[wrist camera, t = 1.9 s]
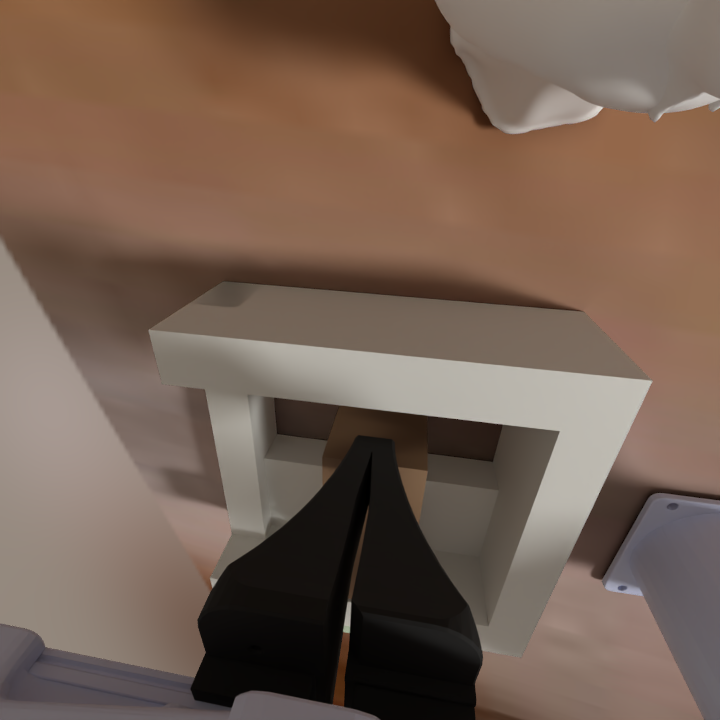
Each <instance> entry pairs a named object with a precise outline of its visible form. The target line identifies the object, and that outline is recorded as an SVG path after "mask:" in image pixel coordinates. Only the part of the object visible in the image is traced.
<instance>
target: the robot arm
mask: <svg viewBox="0 0 720 720" xmlns="http://www.w3.org/2000/svg"><path fill="white" fill-rule="evenodd" d="M368 505H369V508H368ZM367 509H368V517H367V522H366V528H365V533H364V539H363V544H362V550H361V555H360V560H359V565H358V570H357V575H356V580H355V585H354V590H353V595H352V599H351V619H350V641H349V652H348V659H347V666H346V672H345V700H344V707H341V706H336V705H332V704H333V697H334V690H335V683H336V676H337V669H338V662H339V656H340V649H341V642H342V635H343V629H344V622H345V616H346V609H347V602H348V596H349V590H350V583H351V577H352V572H353V567H354V562H355V558H356V554H357V550H358V546H359V542H360V538H361V534H362V530H363V526H364V522H365V518H366V514H367ZM602 583H603V585H604V588H605V589H607V590H609V591H614V592H620V593H626V594H633V595H639V596H644V598H645V600H646V602H647V604H648V606H649V608H650V610H651V612H652V614H653V616H654V618H655V620H656V622H657V625H658V627H659V629H660V631H661V633H662V635H663V637H664V639H665V641H666V643H667V645H668V647H669V649H670V651H671V653H672V655H673V657H674V659H675V661H676V663H677V665H678V667H679V669H680V671H681V673H682V675H683V677H684V679H685V681H686V684H687V686H688V688H689V690H690V692H691V694H692V696H693V698H694V700H695V702H696V704H697V706H698V708H699V710H700V712H701V714H702V716H703V718H704V720H720V501H719V500H712V499H704V498H696V497H689V496H681V495H673V494H666V493H656V494H653V495H651V496H650V497H649V498H648V500H647V501H646V503H645V505H644V507H643V509H642V510H641V512H640V514H639V516H638V517H637V519H636V521H635V523H634V524H633V526H632V528H631V530H630V532H629V533H628V535H627V537H626V539H625V540H624V542H623V544H622V546H621V547H620V549H619V551H618V553H617V554H616V556H615V558H614V560H613V562H612V563H611V565H610V567H609V569H608V570H607V572H606V574H605V576H604V577H603V579H602ZM198 628H199V631H200V635H201V638H202V641H203V645H204V648H205V651H206V654H205V656H204V658H203V660H202V663H201V665H200V667H199V670H198V672H197V674H196V676H195V678H193V677H188V676H184V675H178V674H174V673H169V672H164V671H159V670H154V669H150V668H145V667H140V666H135V665H129V664H125V663H120V662H115V661H110V660H106V659H100V658H96V657H90V656H86V655H80V654H76V653H71V652H66V651H61V650H57V649H51V648H47V647H45V644H44V642H43V640H42V638H41V637H40V636H39V635H38V634H37V633H35V632H33V631H31V630H28V629H25V628H20V627H15V626H10V625H5V624H0V720H475V709H474V707H475V706H476V692H475V681H476V679H477V676H478V674H479V671H480V668H481V666H482V660H483V654H482V647H481V643H480V638H479V634H478V631H477V627H476V624H475V621H474V618H473V615H472V612H471V610H470V607H469V605H468V603H467V602H466V601H465V599H464V598H463V597H462V595H461V594H460V593H459V591H458V590H457V588H456V587H455V586H454V584H453V583H452V581H451V580H450V578H449V577H448V575H447V574H446V572H445V571H444V569H443V568H442V566H441V565H440V563H439V561H438V559H437V558H436V556H435V554H434V553H433V551H432V549H431V547H430V546H429V544H428V542H427V540H426V538H425V536H424V534H423V532H422V530H421V529H420V526H419V524H418V522H417V520H416V518H415V515H414V513H413V511H412V508H411V506H410V503H409V501H408V498H407V495H406V492H405V489H404V486H403V483H402V480H401V476H400V473H399V469H398V464H397V460H396V454H395V442H394V441H393V440H392V439H386V438H378V437H370V436H362V435H358V436H357V437H355V439H354V442H353V444H352V445H351V447H350V449H349V451H348V452H347V454H346V455H345V457H344V458H343V460H342V461H341V463H340V464H339V466H338V467H337V468H336V470H335V471H334V473H333V474H332V475H331V477H330V478H329V479H328V480H327V481H326V483H325V484H324V485H323V486H322V488H321V489H320V490H319V491H318V492H317V493H316V494H315V496H314V497H313V498H312V499H311V500H310V501H309V502H308V503H307V504H306V505H305V506H304V507H303V508H302V509H301V510H300V511H299V512H298V513H297V514H296V515H295V516H294V517H292V518H291V519H290V520H289V521H288V522H287V523H286V524H285V525H283V526H282V527H281V528H280V529H279V530H277V531H276V532H275V533H273V534H272V535H271V536H270V537H268V538H267V539H266V540H264V541H263V542H262V543H260V544H259V545H258V546H256V547H255V548H253V549H252V550H250V551H249V552H247V553H246V554H244V555H243V556H241V557H240V558H238V559H237V560H235V561H234V562H232V563H230V564H229V565H228V566H227V567H226V569H225V570H224V571H223V573H222V574H221V576H220V577H219V579H218V581H217V582H216V584H215V585H214V587H213V589H212V590H211V592H210V594H209V596H208V598H207V601H206V603H205V605H204V607H203V609H202V611H201V614H200V616H199V618H198Z"/></svg>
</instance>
